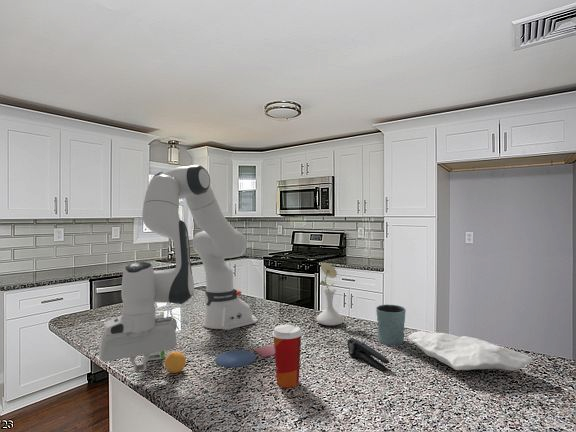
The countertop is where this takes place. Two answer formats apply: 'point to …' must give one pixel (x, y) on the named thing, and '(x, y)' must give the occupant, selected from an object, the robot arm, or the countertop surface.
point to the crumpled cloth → (468, 352)
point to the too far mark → (265, 351)
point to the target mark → (235, 358)
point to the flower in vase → (329, 300)
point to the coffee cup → (287, 354)
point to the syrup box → (161, 354)
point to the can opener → (366, 353)
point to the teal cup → (391, 324)
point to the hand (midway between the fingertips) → (139, 370)
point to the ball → (175, 362)
